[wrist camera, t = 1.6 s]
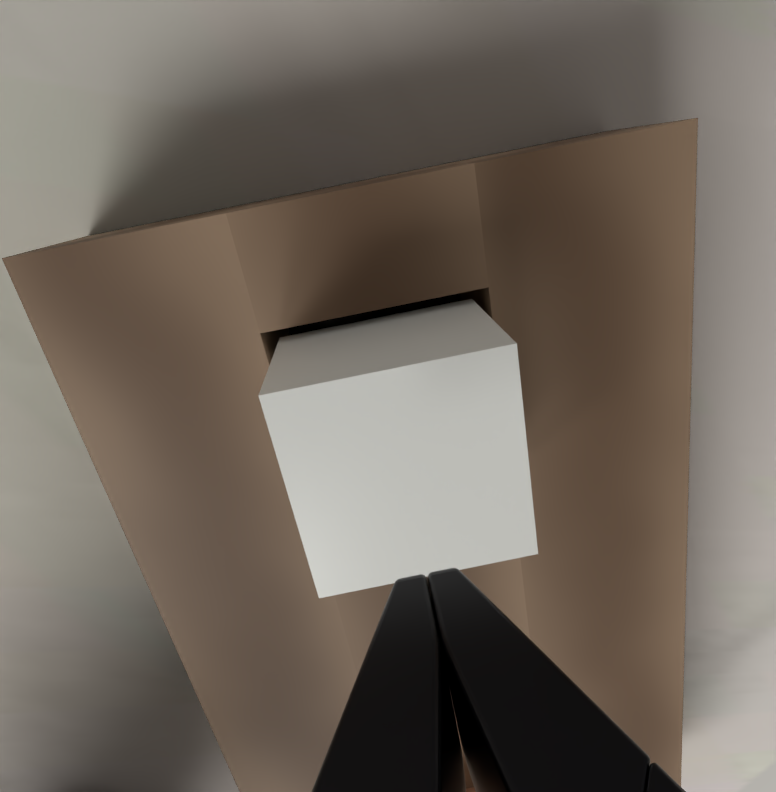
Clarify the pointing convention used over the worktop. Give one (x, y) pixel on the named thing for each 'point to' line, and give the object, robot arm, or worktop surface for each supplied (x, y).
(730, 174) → the worktop surface
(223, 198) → the worktop surface
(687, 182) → the button panel
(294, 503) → the grey button
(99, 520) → the worktop surface
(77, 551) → the worktop surface
